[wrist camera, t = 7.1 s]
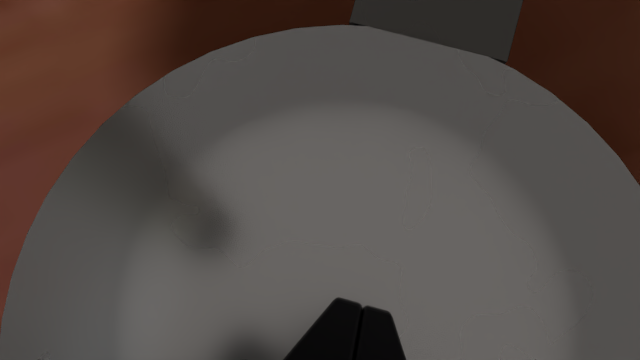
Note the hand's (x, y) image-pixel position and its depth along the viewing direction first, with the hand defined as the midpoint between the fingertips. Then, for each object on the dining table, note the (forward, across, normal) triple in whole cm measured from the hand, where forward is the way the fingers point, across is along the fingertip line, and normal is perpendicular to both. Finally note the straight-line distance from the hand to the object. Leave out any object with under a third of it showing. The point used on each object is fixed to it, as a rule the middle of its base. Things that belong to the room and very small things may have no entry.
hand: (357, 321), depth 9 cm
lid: (+2, 0, 0) cm, 2 cm away
